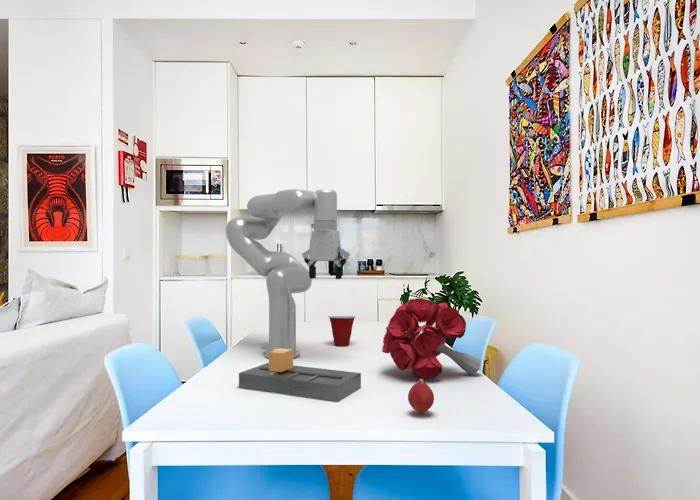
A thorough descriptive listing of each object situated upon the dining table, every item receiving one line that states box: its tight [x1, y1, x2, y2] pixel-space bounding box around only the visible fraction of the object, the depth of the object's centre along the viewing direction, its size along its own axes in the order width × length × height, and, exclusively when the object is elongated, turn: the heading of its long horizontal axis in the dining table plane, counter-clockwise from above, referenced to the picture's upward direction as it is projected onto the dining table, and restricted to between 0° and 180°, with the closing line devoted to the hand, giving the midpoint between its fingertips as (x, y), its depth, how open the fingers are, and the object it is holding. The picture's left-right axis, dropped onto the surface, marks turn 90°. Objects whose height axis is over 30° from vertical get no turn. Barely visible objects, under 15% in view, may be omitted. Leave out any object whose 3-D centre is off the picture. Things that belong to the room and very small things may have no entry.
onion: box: [407, 378, 435, 415], centre depth 108 cm, size 6×6×8 cm
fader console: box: [238, 362, 362, 403], centre depth 130 cm, size 30×14×4 cm, turn 65°
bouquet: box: [381, 297, 482, 379], centre depth 144 cm, size 22×24×30 cm
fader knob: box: [268, 348, 294, 372], centre depth 133 cm, size 4×6×5 cm
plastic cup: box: [328, 315, 356, 347], centre depth 193 cm, size 11×11×12 cm
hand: (325, 278), depth 159 cm, fingers open, 9 cm apart
